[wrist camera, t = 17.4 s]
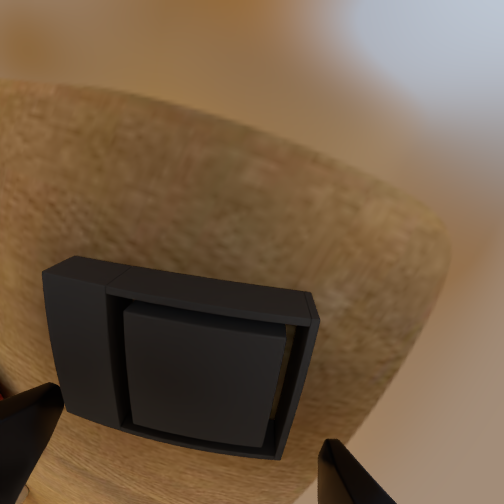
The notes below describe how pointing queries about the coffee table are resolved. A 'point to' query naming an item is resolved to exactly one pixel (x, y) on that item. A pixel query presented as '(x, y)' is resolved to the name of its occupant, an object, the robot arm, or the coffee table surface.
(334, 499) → the robot arm
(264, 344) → the black block
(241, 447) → the black tray
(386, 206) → the coffee table surface
